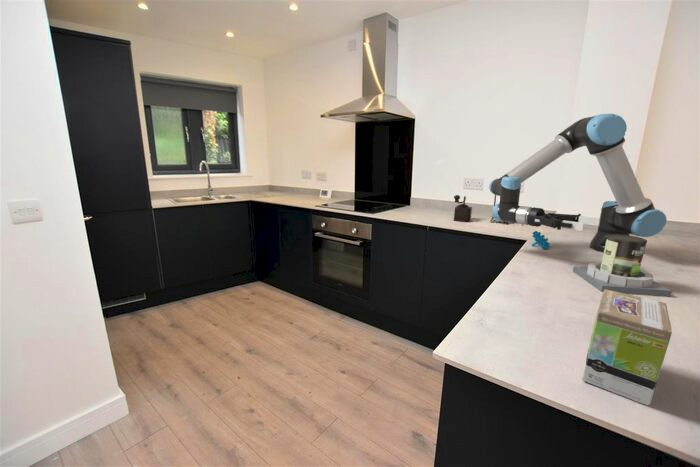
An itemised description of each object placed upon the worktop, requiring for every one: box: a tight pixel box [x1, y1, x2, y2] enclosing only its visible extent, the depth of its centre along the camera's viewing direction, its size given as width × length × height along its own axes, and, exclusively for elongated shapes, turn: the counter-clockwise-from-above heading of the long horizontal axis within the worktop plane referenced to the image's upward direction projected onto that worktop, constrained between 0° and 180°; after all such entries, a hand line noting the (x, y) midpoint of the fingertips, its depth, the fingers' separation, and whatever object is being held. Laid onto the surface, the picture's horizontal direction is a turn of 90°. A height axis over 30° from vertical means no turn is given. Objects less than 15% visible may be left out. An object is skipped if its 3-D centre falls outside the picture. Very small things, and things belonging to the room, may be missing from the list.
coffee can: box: [600, 234, 648, 278], centre depth 107 cm, size 10×10×14 cm
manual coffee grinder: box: [453, 194, 473, 223], centre depth 211 cm, size 16×11×18 cm
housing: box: [572, 261, 672, 298], centre depth 108 cm, size 19×19×4 cm
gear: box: [531, 230, 550, 250], centre depth 152 cm, size 11×6×10 cm
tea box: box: [581, 289, 673, 406], centre depth 61 cm, size 15×10×15 cm, turn 138°
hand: (591, 224), depth 112 cm, fingers open, 13 cm apart
